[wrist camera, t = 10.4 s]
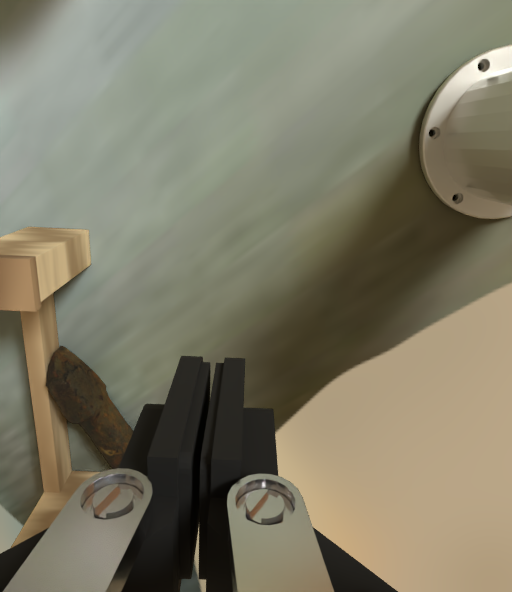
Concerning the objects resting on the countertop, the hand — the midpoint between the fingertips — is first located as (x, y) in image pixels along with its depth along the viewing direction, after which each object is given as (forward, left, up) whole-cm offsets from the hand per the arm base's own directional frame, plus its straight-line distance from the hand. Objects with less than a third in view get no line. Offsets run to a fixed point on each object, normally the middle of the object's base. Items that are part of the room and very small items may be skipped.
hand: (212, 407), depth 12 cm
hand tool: (+12, +20, -28) cm, 36 cm away
